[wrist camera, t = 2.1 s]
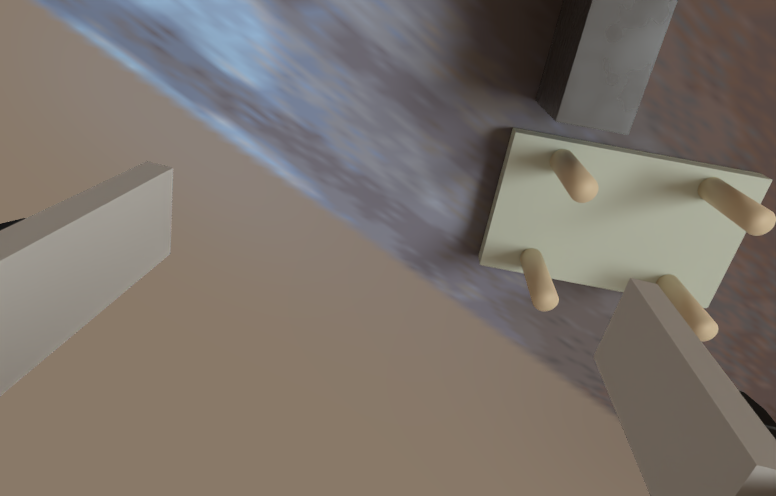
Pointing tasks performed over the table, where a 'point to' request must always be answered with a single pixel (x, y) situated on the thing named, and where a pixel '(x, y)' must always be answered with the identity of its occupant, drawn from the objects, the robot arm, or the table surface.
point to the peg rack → (620, 220)
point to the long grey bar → (602, 61)
